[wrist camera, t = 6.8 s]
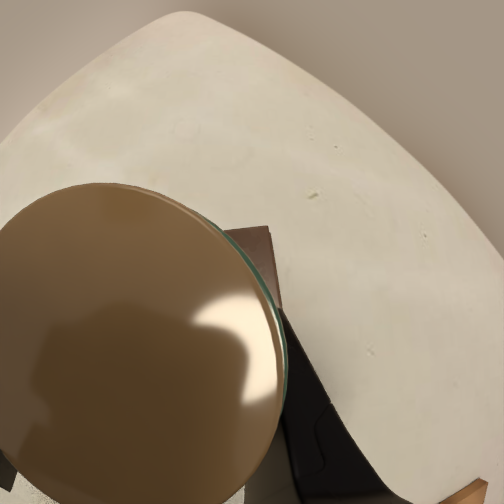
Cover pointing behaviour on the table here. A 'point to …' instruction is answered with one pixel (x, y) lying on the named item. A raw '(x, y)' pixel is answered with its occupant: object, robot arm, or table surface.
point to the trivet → (469, 494)
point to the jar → (134, 351)
